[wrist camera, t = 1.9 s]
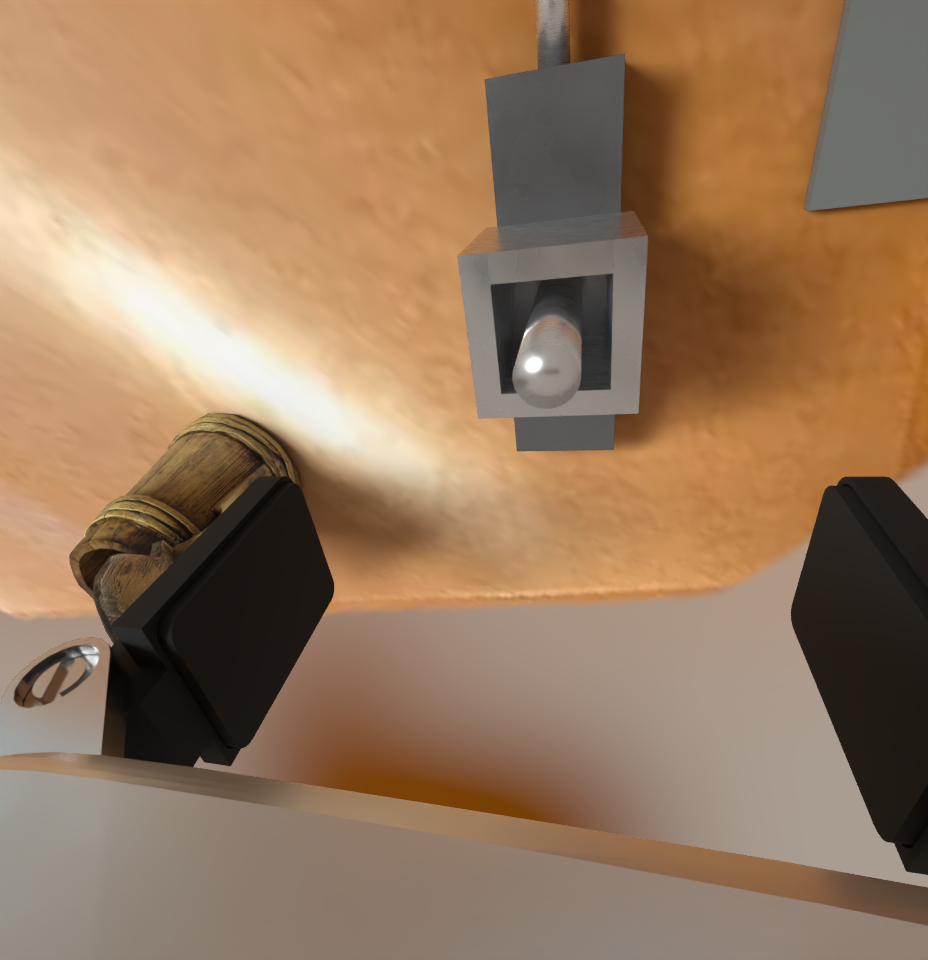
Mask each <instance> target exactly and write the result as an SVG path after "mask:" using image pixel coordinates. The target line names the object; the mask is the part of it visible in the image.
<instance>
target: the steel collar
mask: <svg viewBox="0 0 928 960" xmlns="http://www.w3.org/2000/svg"><path fill="white" fill-rule="evenodd" d="M647 251H648V234H647V233H646V231H645V229H644V228H643V226H642V224H641V222H640V221H639V219H638V217H637V216H636V214H635V212H634V211H627V212H619V213H610V214H602V215H593V216H585V217H576V218H567V219H559V220H550V221H542V222H533V223H525V224H516V225H508V226H499V227H491V228H486V229H485V230H484V231H482V232H481V233H480V234H479V235H478V236H477V237H476V238H475V239H474V240H473V241H472V242H471V243H470V244H469V245H468V246H467V247H466V248H465V249H464V250H463V251H462V252H461V253H460V254H459V255H458V264H459V271H460V279H461V287H462V295H463V303H464V311H465V318H466V326H467V334H468V342H469V350H470V357H471V365H472V373H473V381H474V389H475V397H476V404H477V412H478V419H481V418H513V417H546V416H578V415H610V414H638V413H639V395H640V377H641V359H642V341H643V323H644V305H645V287H646V269H647ZM601 274H607V287H606V336H593V337H582V356H581V382H580V386H579V389H578V391H577V392H576V394H575V395H574V397H573V398H572V399H571V400H569V401H568V402H567V403H565V404H564V405H561V406H559V407H556V408H550V409H542V408H537V407H534V406H531V405H530V404H528V403H526V402H525V401H524V400H522V399H521V398H520V396H519V395H518V394H517V392H516V390H515V388H514V385H513V380H512V375H513V369H514V366H515V362H516V359H517V356H518V352H519V349H520V346H521V343H522V341H518V334H517V321H516V308H515V294H514V282H525V281H535V280H546V279H557V278H568V277H579V276H590V275H601Z"/></svg>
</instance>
